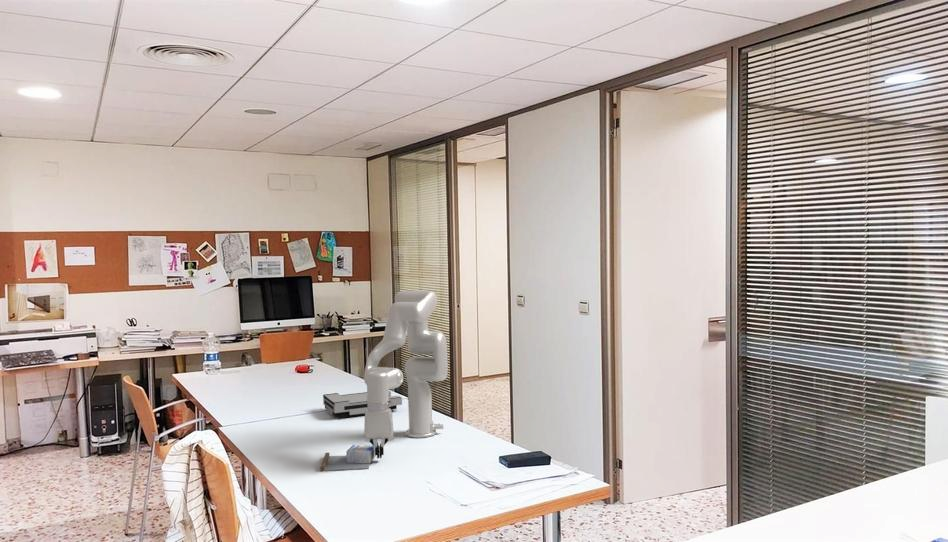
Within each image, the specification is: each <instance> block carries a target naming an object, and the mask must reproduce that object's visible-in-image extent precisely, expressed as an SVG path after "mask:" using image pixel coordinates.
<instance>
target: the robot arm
mask: <svg viewBox="0 0 948 542" xmlns="http://www.w3.org/2000/svg"><path fill="white" fill-rule="evenodd" d="M437 305H438V297H437V294H436V293H435V292H434V291H432V290H401V291H398V292H397V293H396V294H395V295H394V302H393V303H392V304H391V305H390V306H389V309H388V312H387V313H388V314H387V318H386V323H385V328H384V334H383V338H382V340H381V341H380V342H379V343H378V344H376V346H375V347H374V348H373V349H372V350H371V352H370V353H369V354H368V357H367V359H366V364H365V367H364V376H363V380H364V383H365V385H366V389H367V390H366V392H367V404H368V409H367V410H366V412H365V416H364V428H363V429H364V430H363V431H364V432H363V433H364V437H363V442H365V443H370V445H373V446H374V447H375V455H376V459H382V456H384V453H385V452H384V447H385V445H386V444H387V443H388V442H391V441H395V436H394V423H393V422H394V421H393V420H394V419H393V412H391V409H390V408H389V407H391V406H393V402H389V395H388V390H389V391H390V390H394V389H397V388H399V387H400V386H402V384H403V382H404V374H403V372H402V370H401V369H399V368H396V367H385V366H381V367H380V366H379V364H380V361H381V360H382V358H384V357H385V356H386V355H387V354H389V353H391V352H393V351H395V350H397V349H400V348H402V347H403V346H405V344H406V341H407V347H408V351H409V353H411V354H414V355H429V356H430V355H431V356H432V357H431V356H430V357H429V356H428V357H427V356H413V357H411V358H408V359H407V361H406V362H405V364H404V365H405V366H404V370H405V372H404V373H405V376H406V382H407V393H408V394H407V396H408V397H407V398H408V399H407V402H408V404H407V406H408V429H406V430H405V436H407V437H409V438H413V439H414V438H417V439H418V438H419V439H420V438H429V437H432V436H435V435H436V434H437V430H444V424H441V423H434V422H433V408H432V407H433V404H432V403H433V401H432V389H431V386H430V385H429V382H443V381H445V380H446V379H447V377H448V372H449V370H448V367H449V366H448V365H449V363H448V343H447V337H446V335H445V334H444V333H443V332H441V331H438V330H429V323H428V322H429V321H428V319H429V318H430V316H432V314H433V313H434V311H435V310H436V308H437ZM379 439H381V440H380V443H379V442H378V440H379Z"/></svg>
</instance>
